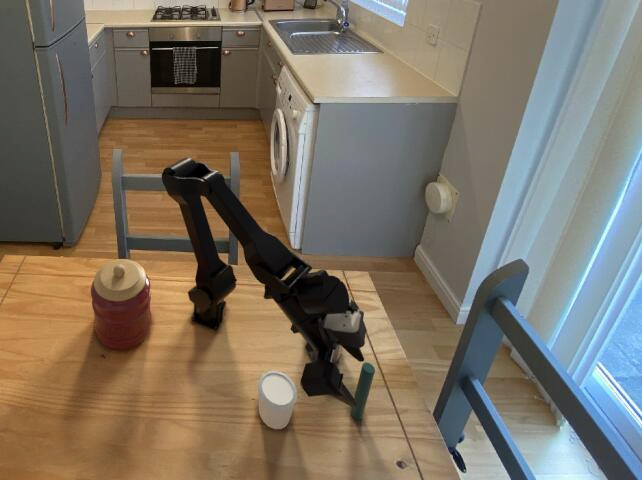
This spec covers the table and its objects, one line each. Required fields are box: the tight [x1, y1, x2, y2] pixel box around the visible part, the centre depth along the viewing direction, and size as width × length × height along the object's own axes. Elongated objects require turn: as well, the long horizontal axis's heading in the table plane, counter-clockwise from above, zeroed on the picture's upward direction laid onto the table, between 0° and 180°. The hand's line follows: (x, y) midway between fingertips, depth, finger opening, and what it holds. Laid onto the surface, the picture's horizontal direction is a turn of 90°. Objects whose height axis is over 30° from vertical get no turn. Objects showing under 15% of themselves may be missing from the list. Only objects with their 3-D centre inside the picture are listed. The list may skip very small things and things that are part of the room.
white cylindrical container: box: [257, 370, 298, 430], centre depth 77 cm, size 7×7×7 cm
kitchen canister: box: [90, 258, 152, 351], centre depth 93 cm, size 13×13×18 cm
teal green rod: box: [350, 361, 376, 421], centre depth 75 cm, size 2×2×13 cm
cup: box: [304, 341, 343, 364], centre depth 89 cm, size 7×7×6 cm
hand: (358, 382), depth 75 cm, fingers open, 9 cm apart
